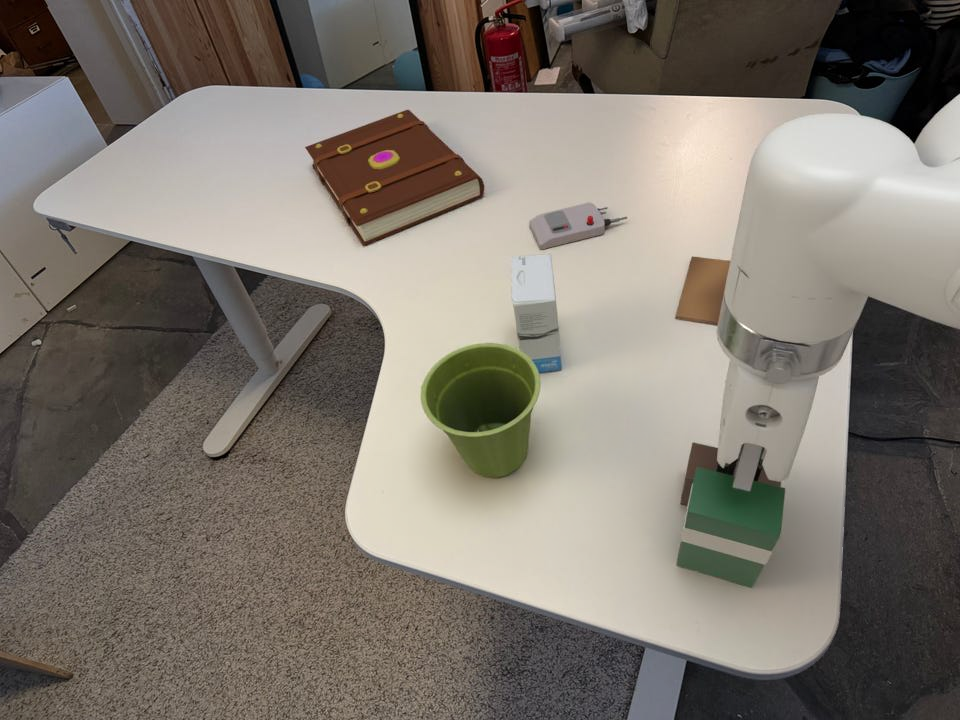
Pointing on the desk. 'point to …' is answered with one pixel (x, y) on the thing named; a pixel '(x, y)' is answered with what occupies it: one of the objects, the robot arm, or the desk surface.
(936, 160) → the robot arm
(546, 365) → the ink box
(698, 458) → the block
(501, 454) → the plant pot
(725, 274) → the coaster
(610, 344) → the desk surface
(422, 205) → the book
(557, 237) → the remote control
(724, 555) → the block
